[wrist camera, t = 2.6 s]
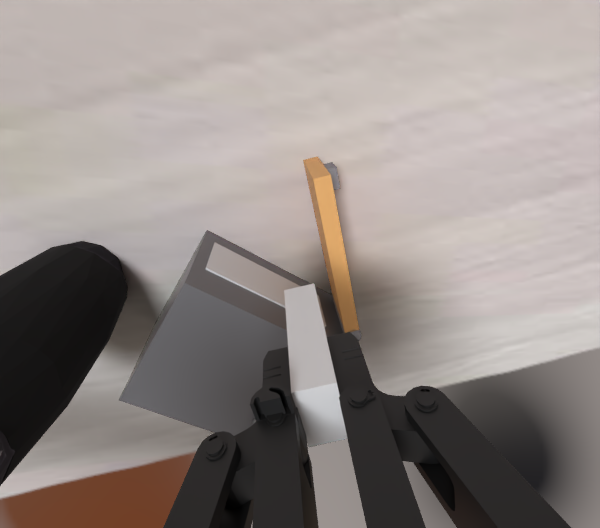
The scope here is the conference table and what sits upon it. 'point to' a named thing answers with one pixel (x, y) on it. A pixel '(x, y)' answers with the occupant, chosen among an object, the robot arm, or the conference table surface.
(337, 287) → the side door
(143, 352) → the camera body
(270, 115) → the conference table surface
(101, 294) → the portable speaker
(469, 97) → the conference table surface
